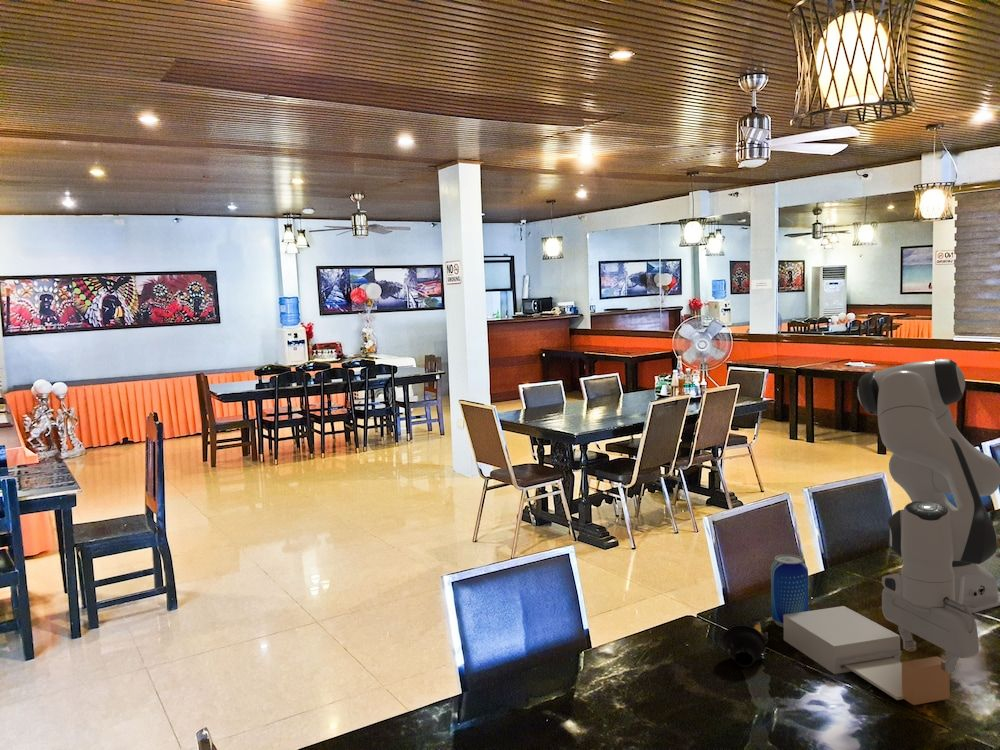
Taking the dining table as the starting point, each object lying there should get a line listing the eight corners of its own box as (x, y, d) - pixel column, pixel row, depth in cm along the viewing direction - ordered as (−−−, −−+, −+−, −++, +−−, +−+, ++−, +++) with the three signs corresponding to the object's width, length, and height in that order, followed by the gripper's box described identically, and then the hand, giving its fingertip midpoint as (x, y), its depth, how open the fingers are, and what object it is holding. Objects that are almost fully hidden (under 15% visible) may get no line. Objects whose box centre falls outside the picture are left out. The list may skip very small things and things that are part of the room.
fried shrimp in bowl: (715, 649, 165) (715, 594, 181) (737, 687, 168) (735, 630, 184) (757, 638, 161) (753, 583, 177) (779, 678, 164) (773, 620, 180)
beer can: (803, 616, 192) (802, 553, 191) (813, 630, 184) (812, 564, 182) (768, 616, 193) (766, 553, 192) (776, 630, 184) (775, 564, 183)
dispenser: (844, 630, 182) (843, 605, 182) (903, 665, 164) (903, 637, 164) (783, 640, 179) (783, 614, 178) (837, 676, 160) (837, 648, 160)
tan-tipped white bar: (873, 649, 169) (873, 618, 169) (956, 697, 147) (956, 661, 147) (829, 656, 167) (828, 624, 166) (906, 706, 145) (906, 670, 144)
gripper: (988, 606, 137) (988, 682, 138) (902, 570, 156) (903, 636, 158) (958, 612, 135) (958, 688, 136) (875, 574, 155) (876, 641, 156)
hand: (928, 660), depth 147 cm, fingers open, 8 cm apart
